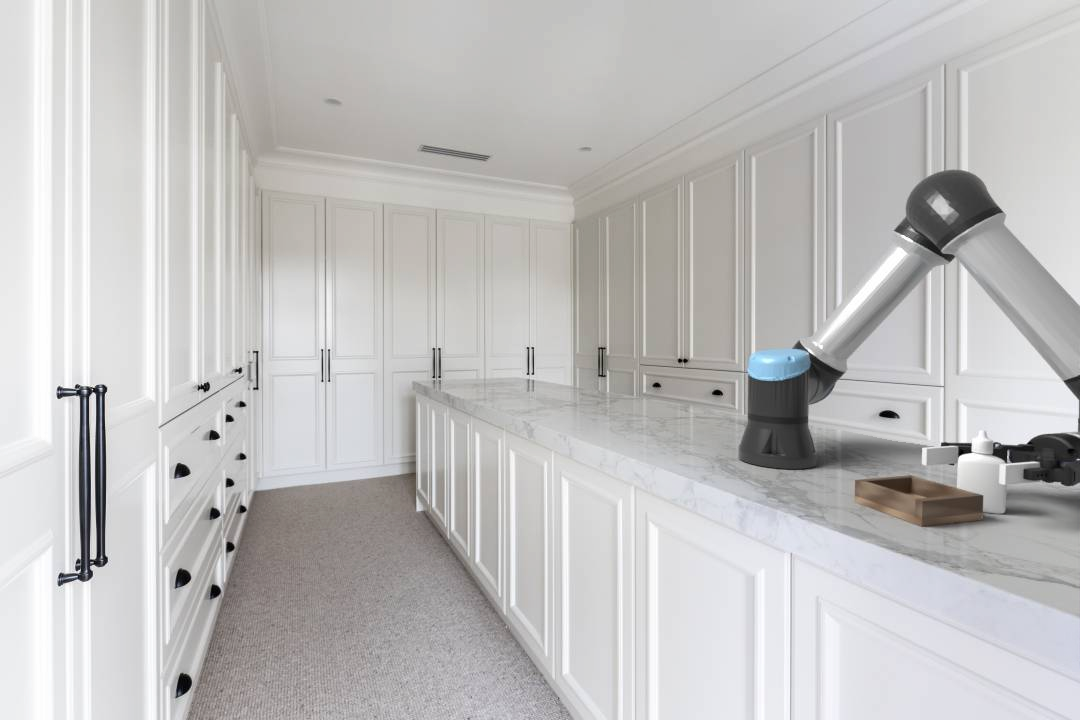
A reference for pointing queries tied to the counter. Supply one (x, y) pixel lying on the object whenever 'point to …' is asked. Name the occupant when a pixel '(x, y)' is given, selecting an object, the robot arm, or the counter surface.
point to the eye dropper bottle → (982, 474)
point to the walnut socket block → (919, 500)
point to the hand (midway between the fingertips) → (960, 464)
